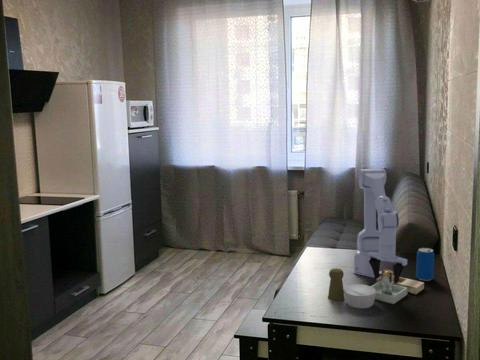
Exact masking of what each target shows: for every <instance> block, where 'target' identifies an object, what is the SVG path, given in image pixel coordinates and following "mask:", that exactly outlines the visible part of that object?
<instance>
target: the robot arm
mask: <svg viewBox="0 0 480 360" xmlns="http://www.w3.org/2000/svg"><path fill="white" fill-rule="evenodd" d="M386 182H387V171H386V170H385V168H374V169H373V168H369V169H367V168H366V169H363V168H361V169H360V170H359V171H358V186H359V187H358V188H359V189H361V190H362V193H363V218H364V219H363V224H364V225H363V226H364V227H363V229H362V230H361V231H360V232H359V233H357V236H356V237H357V240H356V249H357V251H356V253H355V254H354V259H353V260H354V261H353V262H354V263H353V264H354V265H353V267H354V268H353V272H352V273H353V274H357V275H359V276H360V275H361V276H363V277H364V276H365V277H369V278H374V279H376V280H377V278H379V277H380V275H382V270H380V268H381V266H380V265H381V262H387V263H393V264H394V265H392V267H393V275H394V283H398V282H399V278H400V277H401V274H402V272H403V270H404V268H405V266H407V265H408V259H407V258H403V257H401V256H397V255H396V249H397V248H396V247H397V246H396V245H397V244H396V242H397V239H396V238H397V229H398V227H399V226H400V225H399V224H400V220H399V219H400V218H399V214H398V212H397V211H396V209H394V207H393V204H392V202H391V199H390V197H388V196H387V195H386V192H385V185H386ZM377 225H378V227H377Z"/></svg>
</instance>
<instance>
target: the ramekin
mask: <svg viewBox="0 0 480 360" xmlns="http://www.w3.org/2000/svg"><path fill="white" fill-rule="evenodd" d="M371 286H372V285H370V286H369V285H367V284H363V283H362V284H358V283H357V284H356V283H355V284H349V285H346V286H345V287H343V290H344V297H345V299H344V300H345V303H346V304H347V305H348V306H349V307H351V308H354V309H369V308H371V307H372V306H373V305H374V304H375V300H376V299H375V295H376V290H375V288H373V287H371Z"/></svg>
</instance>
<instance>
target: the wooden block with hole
mask: <svg viewBox="0 0 480 360" xmlns="http://www.w3.org/2000/svg"><path fill="white" fill-rule="evenodd" d="M379 281H381V282H382V274H380V275H379V278H377V279H376V283H377V282H379ZM393 285H397V286H402V287H406V288H407V293H409V292H410V294H413V295H417V294H419V293H420V292H421V291H423V290H424V289H425V281H424V282H423V281H421V280H415V279H412V278H411V279H410V278H406V277H401V276H400V278H399V282H398V283H394V274H393Z"/></svg>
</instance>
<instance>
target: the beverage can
mask: <svg viewBox="0 0 480 360" xmlns="http://www.w3.org/2000/svg"><path fill="white" fill-rule="evenodd" d="M434 268H435V252H434V249H432V248H430V247H421V248H418V250H417V252H416V268H415V269H416V270H415V271H416V272H415V277H416V278H417V279H418V281H421V282H423V281H424V282H429V281H432V280H434Z"/></svg>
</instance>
